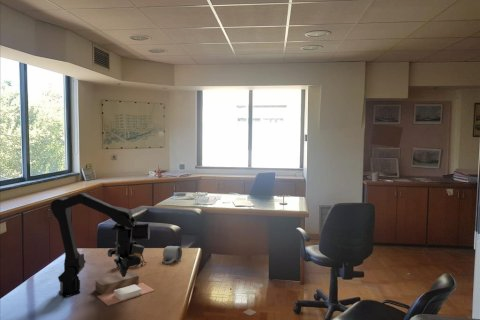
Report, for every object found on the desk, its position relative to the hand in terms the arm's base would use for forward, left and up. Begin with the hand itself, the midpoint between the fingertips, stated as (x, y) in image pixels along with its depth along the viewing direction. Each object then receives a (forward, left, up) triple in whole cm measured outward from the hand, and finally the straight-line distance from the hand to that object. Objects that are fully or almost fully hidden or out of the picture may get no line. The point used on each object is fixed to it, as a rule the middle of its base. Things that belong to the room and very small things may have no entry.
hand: (123, 276), depth 143 cm
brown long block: (0, +6, -6) cm, 8 cm away
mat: (0, -3, -6) cm, 7 cm away
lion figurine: (+16, +26, -6) cm, 31 cm away
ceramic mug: (+35, +18, -7) cm, 40 cm away
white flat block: (0, -4, -5) cm, 7 cm away
